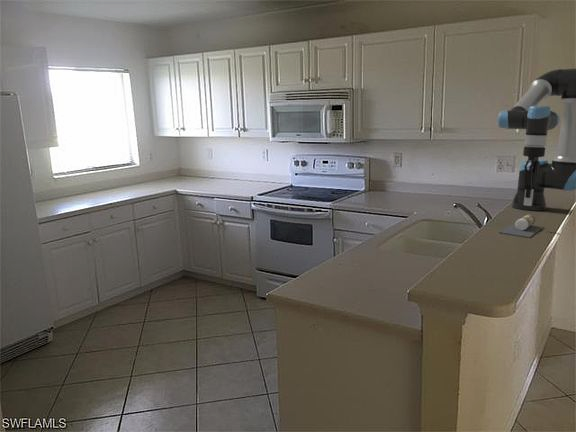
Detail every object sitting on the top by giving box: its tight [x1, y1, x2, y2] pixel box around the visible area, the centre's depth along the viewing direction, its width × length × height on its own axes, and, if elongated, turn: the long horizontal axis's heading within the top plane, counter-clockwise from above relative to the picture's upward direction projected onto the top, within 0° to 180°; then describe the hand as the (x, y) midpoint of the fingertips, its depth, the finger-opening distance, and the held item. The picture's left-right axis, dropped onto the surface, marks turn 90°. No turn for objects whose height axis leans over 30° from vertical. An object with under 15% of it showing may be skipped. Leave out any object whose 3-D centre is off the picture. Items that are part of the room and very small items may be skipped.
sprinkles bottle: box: [514, 213, 536, 230], centre depth 194 cm, size 5×5×14 cm
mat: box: [498, 222, 544, 239], centre depth 191 cm, size 20×11×1 cm, turn 140°
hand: (527, 205), depth 193 cm, fingers closed
